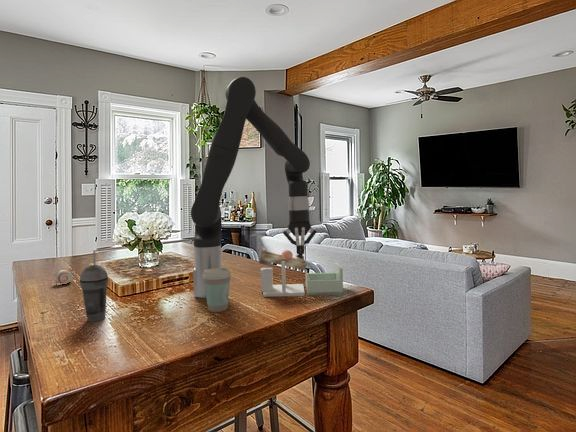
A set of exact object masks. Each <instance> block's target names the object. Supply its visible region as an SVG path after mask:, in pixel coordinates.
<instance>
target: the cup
mask: <svg viewBox="0 0 576 432" xmlns="http://www.w3.org/2000/svg"><path fill="white" fill-rule="evenodd" d="M334 271H335V272H310V273H309V272H306V273H305V289H306V295H307V296H309V297H310V296H343V295H344V274H343V273H344V272H343V271H344V269H343V267H342V266H341V264H340V262H338V261H335V262H334Z"/></svg>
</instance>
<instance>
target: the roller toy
mask: <svg viewBox="0 0 576 432" xmlns="http://www.w3.org/2000/svg"><path fill="white" fill-rule="evenodd" d="M53 279H54V284H55V283H66V282H71V281H72V282H73V275H72V273H71V272H70V271H68V270H67V269H66V270H65V269H60V270H58V271H57V272H55V274H54V276H53ZM72 282H71V283H72Z"/></svg>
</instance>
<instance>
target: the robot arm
mask: <svg viewBox="0 0 576 432" xmlns="http://www.w3.org/2000/svg"><path fill="white" fill-rule="evenodd" d="M256 90H257V89H256V87H255V84H254V83H253V81H252V79H250V78H249V77H246V76H240V77H235V78H234V79H233V80H232V81H230V83H229V84H228V85H227V87H226V88H225V99H226V105H225V108H224V109H225V110H224V113H223V116H222V118H221V121H220V123H219V125H218V127H217V129H216V131H215V133H214V135H213V138H212V141H211V144H210V148H209V150H208V154H207V157H206V158H207V159H206V162H205V166H204V169H203V176H202V180H201V184H200V186H199V189H198V192H197V193H196V196H195V200H194V202H193V203H192V206H191V209H190V217H191V220H192V222H193V223H194V231H195V232H194V237H193V253H194V254H193V257H194V268H193V270H192V271H193V272H192V273H193V275H192V278H193V296H194V298H200V299H207V298H206V292H205V285H204V279H203V278H202V277H203V274H204V270H206V269H210V268H223V260H222V235H223V233H222V232H223V231H222V210H221V207H220V202H221V199H222V198H221V197H222V195H223V190H224V188H225V185H226V184H227V181H228V179H229V178H230V176H231V173H232V172H233V171H232V170H233V169H234V166H235V163H236V160H237V157H238V153H239V150H240V145H241V141H242V138H243V132H244V129H245V128H244V127H245V123H246V121H248V122H249V124H251V125H252V127H254V129H255V130H256V131H257V132H258V133H259V135H260V136H261V137H262V139H264V140H265V142H266V143H267V145H268V146H269V147H270V148H271V149H272V150H273V152H274V153H275V154H276V155H277V156H278V157H282V158H284V159H285V162H284V172H285V176H286V181H287V184H288V207H287V208H288V222H289V224H288V226H287V228H286V229H285V230H283V232H282V233H283V235H284V236H285V238H286V239H287V240H288V241H289V242H290V243H291V244H292V245H295V247H296V255H299V256H304V254H305V245H308V244H309V243H310V242H311V241H312V239H313V238H314V236H316V234H317V230H316V229H315V228H314V227H312V225H311V223H310V200H309V193H308V191H309V190H308V189H309V188H308V187H309V186H308V182H307V181H306V180H304V177H303V173H306V172H308V171H309V168H310V166H311V161H310V158H309V157H308V155H307V154H306V152H304V151H303V150H302V149H301V148H300V147H299V146H297V145H296V144H295V143H293V141H292V140H291V139H290V138H289V136H288V135H287V134H286V132H285V131H284V130H283V129H282V128H281V127H280V125H278V124H277V123H276V122H275V121H274V120H273V119H272V118H271V117H269V116H268V115H267V114H266V113H265V111H263V110H262V108H261V107H260V106H259V105H258V103H257V102H256V100H255V98H256V95H257V94H256V92H257V91H256ZM308 233H309V235H308ZM291 234H292V235H293V236H294V237H295V239H293V237H292V236H291ZM306 235H308V237H307V238H306V237H305V236H306ZM305 238H306V239H305Z"/></svg>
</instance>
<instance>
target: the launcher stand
mask: <svg viewBox="0 0 576 432" xmlns="http://www.w3.org/2000/svg"><path fill="white" fill-rule="evenodd" d="M280 267H281V284H274V281H273V279H274V278H273V277H274V276H273V271H274V270H273V267H261V268H260V271H259V272H260V291H262V292H263V294H262V297H264V298H265V297H266V298H267V297H268V298H269V297H302V296H303V297H304V296H306V295H305V287H304V284H303V283H293V284H291V283H290V284H289V283H286V281H287V279H286V266H285V261H281V266H280Z"/></svg>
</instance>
